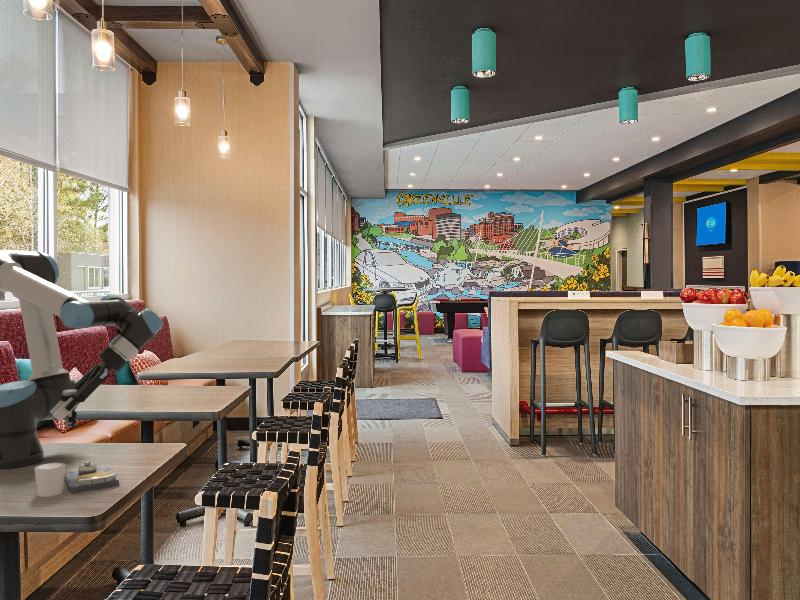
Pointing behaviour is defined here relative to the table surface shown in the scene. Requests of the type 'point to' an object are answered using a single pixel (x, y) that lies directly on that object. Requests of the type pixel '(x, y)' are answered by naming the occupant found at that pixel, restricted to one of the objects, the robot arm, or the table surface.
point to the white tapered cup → (50, 479)
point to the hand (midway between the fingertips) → (55, 416)
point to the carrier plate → (90, 478)
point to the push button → (72, 415)
